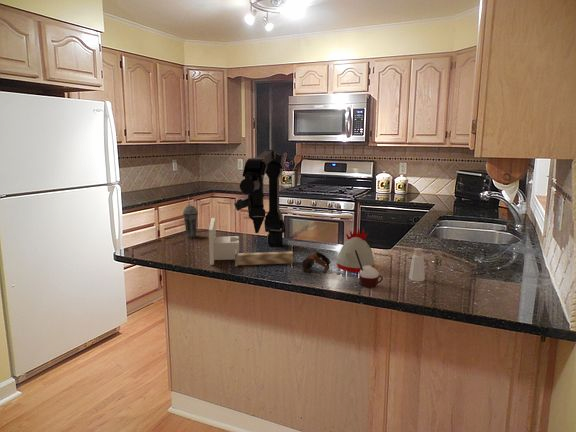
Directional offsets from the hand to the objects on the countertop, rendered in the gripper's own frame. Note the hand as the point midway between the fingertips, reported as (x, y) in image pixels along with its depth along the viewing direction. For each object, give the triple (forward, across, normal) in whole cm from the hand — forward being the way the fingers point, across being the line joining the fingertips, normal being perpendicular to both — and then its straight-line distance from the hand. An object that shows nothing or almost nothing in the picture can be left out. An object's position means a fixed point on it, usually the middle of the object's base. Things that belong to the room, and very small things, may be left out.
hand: (256, 230), depth 165 cm
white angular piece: (+12, -9, -12) cm, 20 cm away
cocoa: (+13, +32, +36) cm, 50 cm away
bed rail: (+13, +2, +3) cm, 13 cm away
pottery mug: (+13, +15, +20) cm, 29 cm away
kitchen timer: (+13, +10, +38) cm, 41 cm away
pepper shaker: (+13, +27, +55) cm, 63 cm away
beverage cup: (+12, -47, -31) cm, 58 cm away
